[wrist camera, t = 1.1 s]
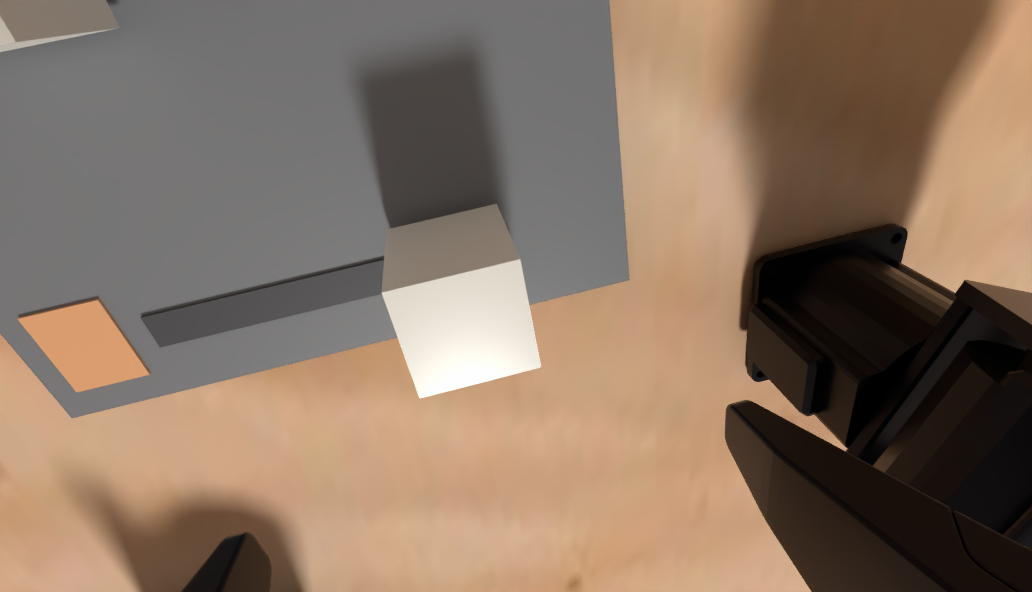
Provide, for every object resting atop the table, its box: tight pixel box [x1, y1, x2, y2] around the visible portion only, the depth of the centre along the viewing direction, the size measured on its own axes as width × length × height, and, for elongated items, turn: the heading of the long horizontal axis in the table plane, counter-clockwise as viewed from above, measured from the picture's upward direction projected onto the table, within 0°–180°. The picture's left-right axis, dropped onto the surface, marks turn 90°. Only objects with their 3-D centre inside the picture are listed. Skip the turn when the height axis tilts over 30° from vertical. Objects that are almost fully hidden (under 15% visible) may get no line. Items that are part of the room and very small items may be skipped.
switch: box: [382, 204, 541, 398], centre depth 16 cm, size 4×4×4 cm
